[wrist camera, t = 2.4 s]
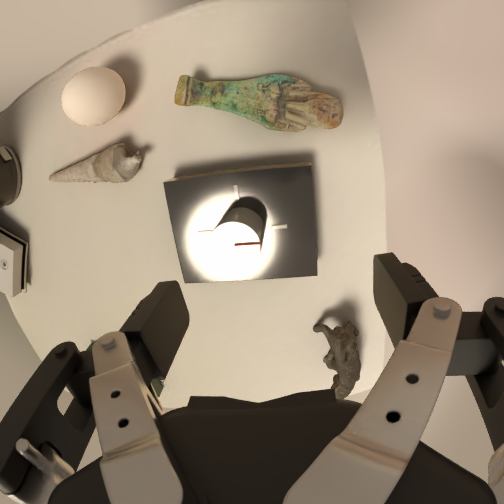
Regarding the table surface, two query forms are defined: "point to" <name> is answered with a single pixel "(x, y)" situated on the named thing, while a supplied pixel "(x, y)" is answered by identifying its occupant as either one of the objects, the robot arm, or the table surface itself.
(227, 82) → the figurine
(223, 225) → the knob
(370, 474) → the robot arm
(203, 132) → the table surface
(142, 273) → the table surface
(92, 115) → the egg
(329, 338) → the grey animal-shaped piece
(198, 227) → the black dial control panel
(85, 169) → the seashell
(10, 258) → the white box device
